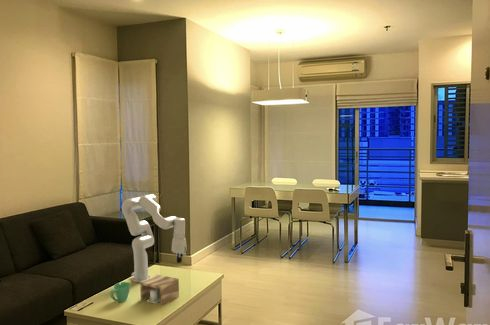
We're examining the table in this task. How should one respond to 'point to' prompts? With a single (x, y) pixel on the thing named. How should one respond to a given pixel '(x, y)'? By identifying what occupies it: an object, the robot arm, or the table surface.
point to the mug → (120, 291)
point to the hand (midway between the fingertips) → (179, 262)
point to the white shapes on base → (154, 296)
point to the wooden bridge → (160, 287)
